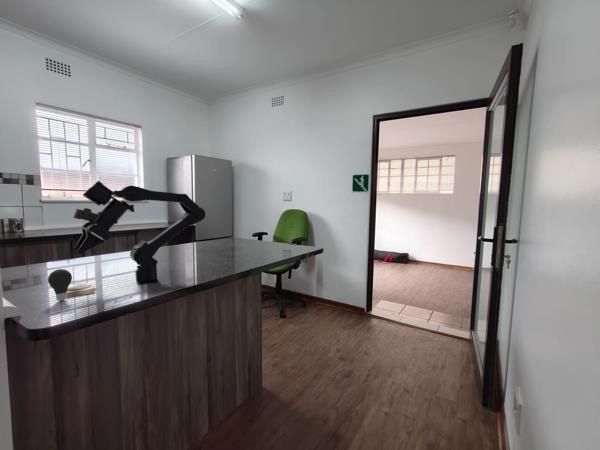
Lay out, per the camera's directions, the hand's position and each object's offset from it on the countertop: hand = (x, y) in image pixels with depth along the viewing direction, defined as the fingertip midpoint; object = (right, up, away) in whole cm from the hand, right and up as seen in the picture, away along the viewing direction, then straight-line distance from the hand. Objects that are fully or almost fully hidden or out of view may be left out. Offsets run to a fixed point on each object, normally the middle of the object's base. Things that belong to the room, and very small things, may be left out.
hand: (77, 251), depth 92 cm
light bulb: (0, -15, -6) cm, 16 cm away
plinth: (-2, -14, +2) cm, 15 cm away
